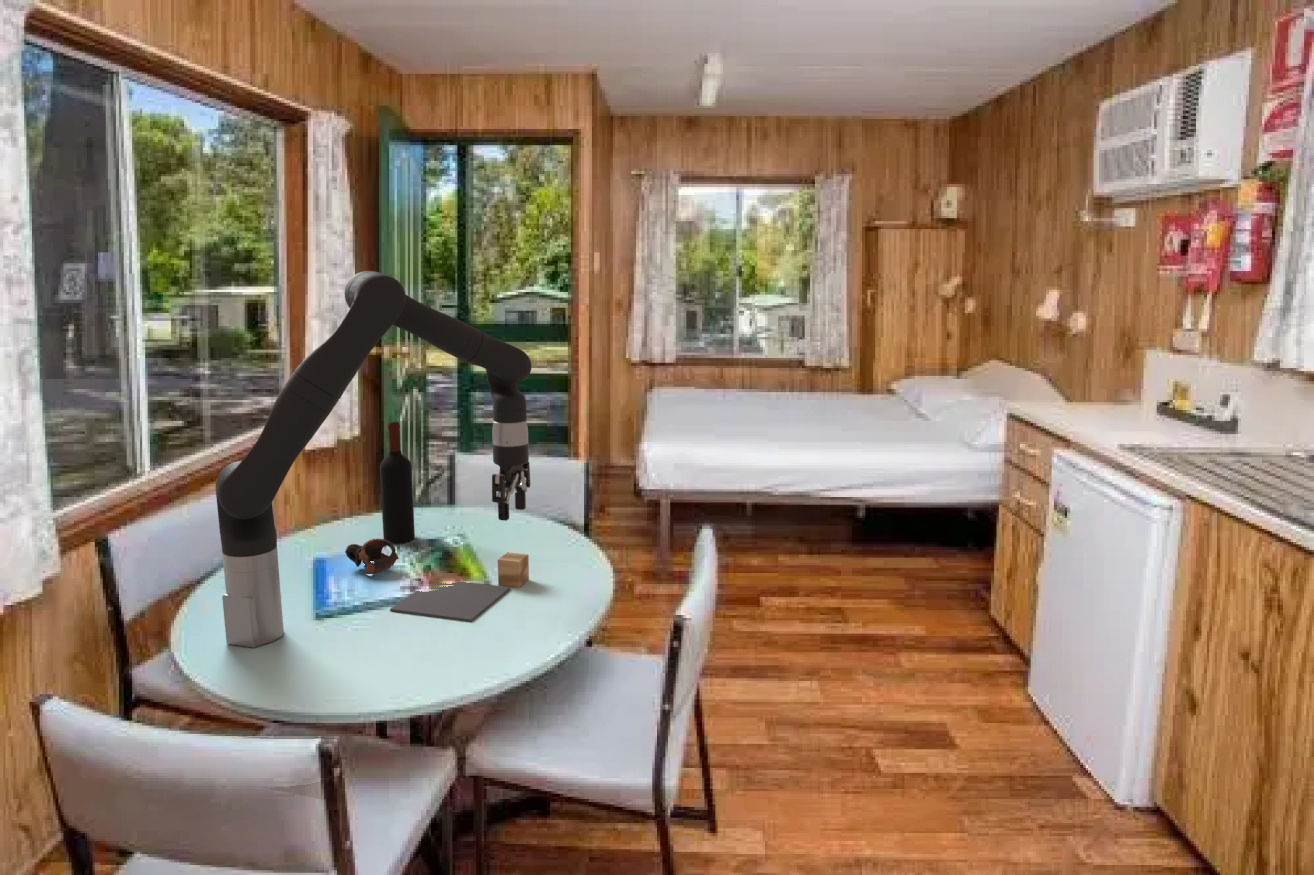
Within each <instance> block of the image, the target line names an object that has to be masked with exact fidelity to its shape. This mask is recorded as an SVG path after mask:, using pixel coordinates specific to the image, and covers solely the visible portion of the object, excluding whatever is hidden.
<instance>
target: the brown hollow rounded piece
mask: <svg viewBox="0 0 1314 875" xmlns="http://www.w3.org/2000/svg"><path fill="white" fill-rule="evenodd" d="M386 547H389V548H390V550H391V553H390V555H388V554H385V553H384V552H382V551H383V549H384V548H386ZM344 552H345V554H346V557H347V558H348V559H349V560H350V561H351V562H353V563H354V564H355V566H356V567H357V568H358V567H360V566H361V564H363V563H364V564H365V565H366V566H365V567H366V568H365V571H364V574H365V573H366V574H377V573H381V572H384V571H386V570H388V569H390V568H391V567H392V566H394V564H396V561H397V560H399V556H398V553H397V551H396V547H395V544H392V543H391V542H390V541H388V540H384V538H372V539H369V540H367V541H366V542H364V543H363V545H360V544H356V543H351V544H348V545H347V546H346V549H345V550H344ZM370 561H374V562H372V563H371V562H370Z"/></svg>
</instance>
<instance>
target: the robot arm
mask: <svg viewBox="0 0 1314 875" xmlns="http://www.w3.org/2000/svg"><path fill="white" fill-rule="evenodd" d="M343 293H344V298H345V302H346V305H347V307H348V308H349V309H348V312H347V313H346V315H345V316H344V318H343V319H342V321H341V323H340V324H339V325H338V327H337V328H336V330H334V332H333V333H332V334H331V335H330V336H329V337H328V338H327V339H326V340H325V341H324V342H322V343H321V344H320V345H319V346H317V347H316V348H315V349H314V350H313V351H311V352H310V353H309V354H308V355H307V356H306V357H305V358H304V359H303V360H302V361H301V362H300V364H299V365H298V366H297V367H296V368H295V370H294V372H292V374H291V375H290V377H289V378H288V379H287V381H286V383H285V384H284V385H283V387H282V389H281V390H280V392H279V393H278V396H277V397H276V399H275V401H274V403H273V405H272V407H271V409H270V412H269V414H268V417H267V420H266V422H265V424H264V426H263V428H262V431H261V434H260V435H259V437H258V438H257V439H256V440H257V441H256V442H255V443H254V444H253V446H252V447H251V449H250V450H249V451H248V452H247V454H246V455H245V456H244V458H243V459H242V460H238V461H233V462H232V463H229V464H227V465H226V466H225V467H223V468H222V470H220V472H219V474H218V476H217V478H216V481H215V497H216V505H217V506H216V507H217V516H218V526H219V536H220V544H221V552H222V562H223V563H222V564H223V574H224V583H225V584H224V585H225V593H224V594H223V595H222V596H221V600H222V608H223V618H224V621H223V622H224V629H225V631H224V632H225V641H226V644H227V645H234V646H241V647H246V648H254V649H255V648H257V647H258V646H262V645H266V644H269V643H272V642H274V641H276V640H278V639H279V638H281V637H282V636H283V635H284V633H285V629H284V616H283V606H282V605H283V604H282V592H281V581H280V580H281V578H280V568H279V566H280V565H279V555H278V554H279V552H278V542H277V540H278V538H277V531H276V525H275V520H274V518H275V517H274V510H273V509H274V508H273V502H274V500H275V498H276V496H277V494H278V492H279V489H280V488H281V486H282V484H283V482H284V481H285V479H286V477H287V476H288V473H289V471H290V469H291V467H292V466H293V464H294V463H295V462H296V459H298V457H299V456H300V454H301V453H302V451H303V450H304V449H305V447H306V446H307V445H308V444H309V442H310V441H311V440H312V439H313V437H314V436H315V434H316V433H317V432H318V431H319V429H320V428H321V427H322V425H323V424H324V422H325V421H326V420H327V418H328V417H329V415H330V414H331V413H332V411H333V410H334V408H335V406H336V405H337V404H338V402H339V400H340V399H341V397H342V396H343V394H344V393H345V391H346V389H347V388H348V386H349V385H350V384H351V382H352V380H353V379H354V378H355V376H356V374H357V373H358V371H359V370H360V368H361V367H362V365H363V363H364V362H365V360H366V358H368V356H369V354H370V353H371V351H372V350H373V349H374V347H375V346H376V345H377V344H378V343H379V342H380V341H381V339H382V338H383V337H384V336H385V334H386V333H387V332H388V331H389V330H390V329H391V327H393V326H394V327H396V328H398V329H401V330H402V331H403V330H404V331H406V332H408V334H409V333H410V334H411V335H414V336H416V337H418V338H419V339H421V340H423V341H425V342H427V343H429V344H430V345H432V346H433V347H435V348H437V349H439V350H441V351H443V352H444V353H447V354H448V355H450V356H452V357H454V358H457V359H459V360H460V361H462V362H464V363H466V364H469V365H471V366H472V365H473V366H475V367H476V366H477V367H480V368H483V369H484V370H485V374H486V380H487V384H488V387H489V392H490V395H491V396H490V397H491V399H492V431H491V432H492V437H491V438H492V459H493V460H492V461H493V463H494V464H495V465H496V466H498V467H499V473H498V474H497V473H493V474H492V475H491V502H492V503H496V504H497V513H498V514H497V516H498V520H499V521H503V522H504V521H505V522H506V521H508V520H509V519H510V503H509V502H510V498H511V495H513V494H514V507H515V509H516V510H518V511H519V510H520V511H522V510H523V511H524V510H525V509H526V508H527V504H526V502H527V501H526V493H527V492H528V488H529V489H530V487H531V469H530V467H531V466H530V460H529V459H530V458H529V457H530V456H529V455H530V454H529V429H528V428H529V427H528V423H527V416H528V415H527V400H526V396H525V394H523V393H522V392H521V391H520V389H519V386H518V383H521V382H523V381H525V380H526V379H527V378H528V377H529V375H530V374H531V373H532V372H531V371H532V361H531V358H530V357H529V355H528V354H527V353H526V352H525V351H524V350H523V349H521V348H519V347H517V346H514V345H512V344H509V343H507V342H505V341H502V340H499V339H497V338H494V337H493V336H490V335H488V334H486V333H485V332H484V331H482V330H479V329H478V328H476V327H474V326H471V325H470V324H468V323H466V322H464V321H462V320H460V319H458V318H455V317H453V316H451V315H448V314H446V313H444V312H441V311H439V310H437V309H434V308H432V307H430V306H427V305H426V304H423V303H421V302H419V301H418V300H416V299H414V298H412V297H411V296H409V295H407V294H406V291H405V289H404V286H403V284H401V282H400V281H399V280H398V279H396V278H394V277H392V276H390V275H388V274H385V273H383V272H379V271H374V270H364V271H359V272H357V273H355V274H354V275H352V276H351V277H350V278H349V279H348V281H347V282H346V283H345V287H344V292H343Z"/></svg>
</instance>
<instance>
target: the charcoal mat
mask: <svg viewBox="0 0 1314 875" xmlns="http://www.w3.org/2000/svg"><path fill="white" fill-rule="evenodd" d="M434 581H435V580H434ZM437 581H440V580H437ZM441 581H443V580H441ZM466 582H467V581H462V582H457V583H452V584H446V583H445V584H444V583H443V584H442V583H437V584H430V585H454V586H448V587H446V586H445V587H444V586H443V587H439V588H438V587H437V588H436V587H435V588H431V589H439V590H435V591H434V590H433V591H429V592H422V591H421V592H420V591H417V590H416V591H414V592H413V593H411V594H410V595H408V596H407V597H405V598H404V599H403V600H401V601H400V602H398V603H396V604H395V605H393V606H392V607H391V608H389V609H390V612H394V613H403V614H409V615H410V614H411V615H417V616H418V615H419V616H425V617H433V618H440V619H447V620H455V621H461V622H473V621H475V619H476V618H478V617H479V616H480V615H481V614H482V613H484V612H485V611H486V610H488V609H489V608H490V607H491V606H492V605H493V604H495V603H496V602H497V601H498V600H499V599H500V598H502V597H503V596H504V595H505V594H506V593H508V592H509V591H510V590H511V587H507V586H498V585H493V584H485V583H478V582H477V583H476V582H470V583H466ZM421 588H422V587H420V588H419V589H421Z"/></svg>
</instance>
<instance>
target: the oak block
mask: <svg viewBox="0 0 1314 875" xmlns="http://www.w3.org/2000/svg"><path fill="white" fill-rule="evenodd" d="M529 569H530V566H529V554H528V553H527V554H525V553H517V552H506V553H505V554H503V555H502V556H500V557H499V558H498V559H497V578H498V579H497V582H498V583H497V584H498V585H497V586H504V587H510V588H517V589H520V588H522V587H523V585H525V584H527V582H528V581H530V572H529V571H530V570H529Z"/></svg>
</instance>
